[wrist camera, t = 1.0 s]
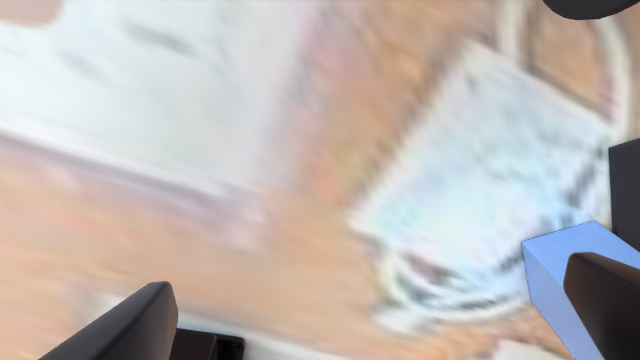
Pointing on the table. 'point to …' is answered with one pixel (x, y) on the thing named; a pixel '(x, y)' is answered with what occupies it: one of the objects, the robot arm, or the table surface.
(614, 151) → the rubber mat
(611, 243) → the blue block
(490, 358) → the table surface
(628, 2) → the wine glass
